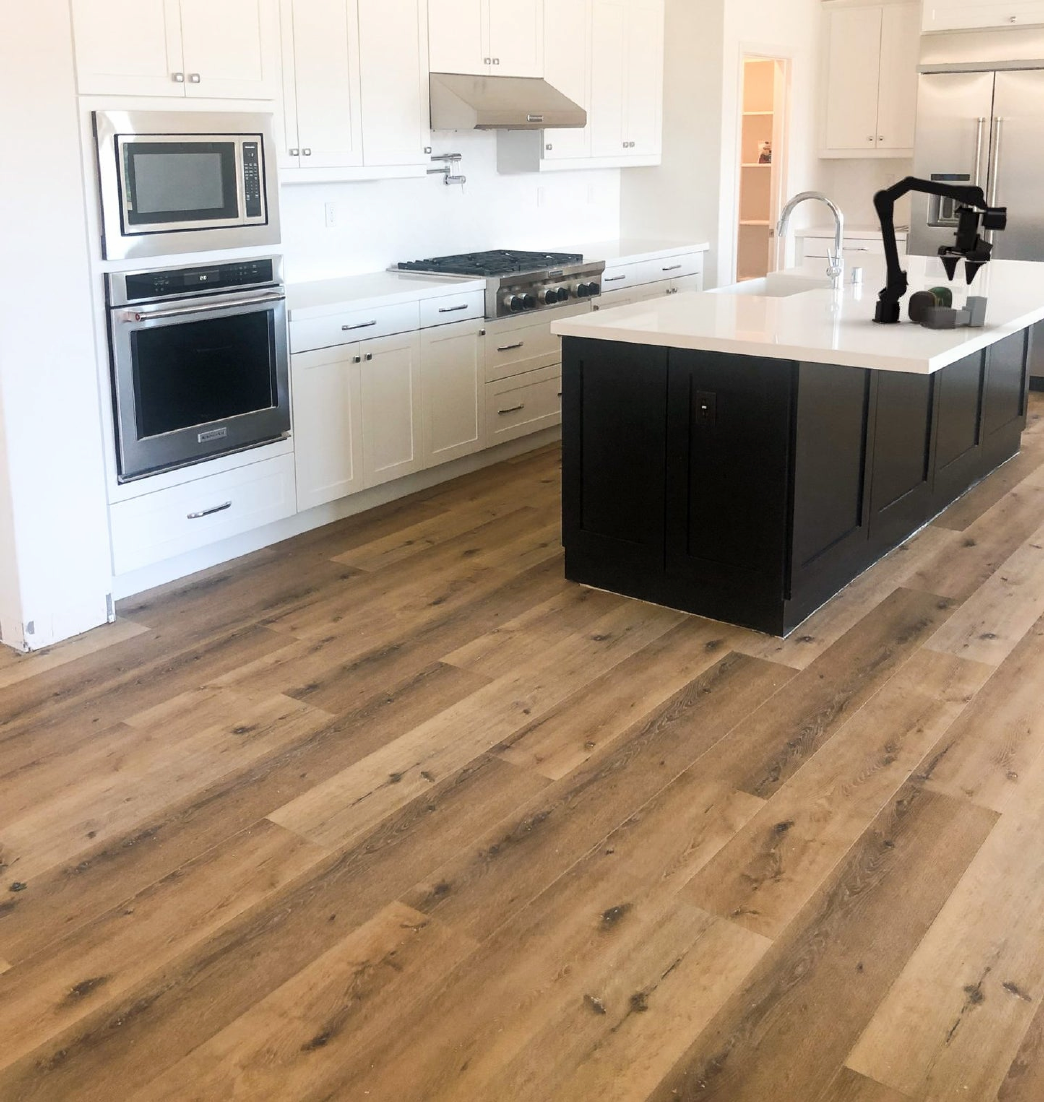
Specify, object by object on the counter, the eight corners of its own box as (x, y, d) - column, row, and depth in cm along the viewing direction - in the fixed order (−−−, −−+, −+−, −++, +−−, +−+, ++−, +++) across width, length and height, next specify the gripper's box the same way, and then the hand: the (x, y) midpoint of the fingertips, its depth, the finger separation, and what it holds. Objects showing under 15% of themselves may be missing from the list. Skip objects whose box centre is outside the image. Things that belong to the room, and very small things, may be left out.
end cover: (953, 327, 361) (957, 299, 358) (942, 324, 366) (945, 297, 363) (985, 325, 363) (988, 298, 361) (973, 323, 368) (977, 295, 366)
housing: (934, 329, 358) (936, 310, 356) (920, 325, 365) (922, 307, 363) (954, 328, 360) (956, 309, 358) (940, 325, 366) (943, 306, 364)
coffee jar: (929, 285, 381) (907, 290, 368) (954, 287, 377) (932, 292, 363) (926, 316, 384) (904, 322, 371) (951, 318, 380) (929, 325, 366)
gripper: (1010, 232, 352) (1001, 286, 357) (972, 226, 369) (964, 278, 374) (977, 232, 349) (969, 287, 354) (940, 226, 366) (932, 278, 371)
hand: (959, 282), depth 363 cm, fingers open, 9 cm apart
